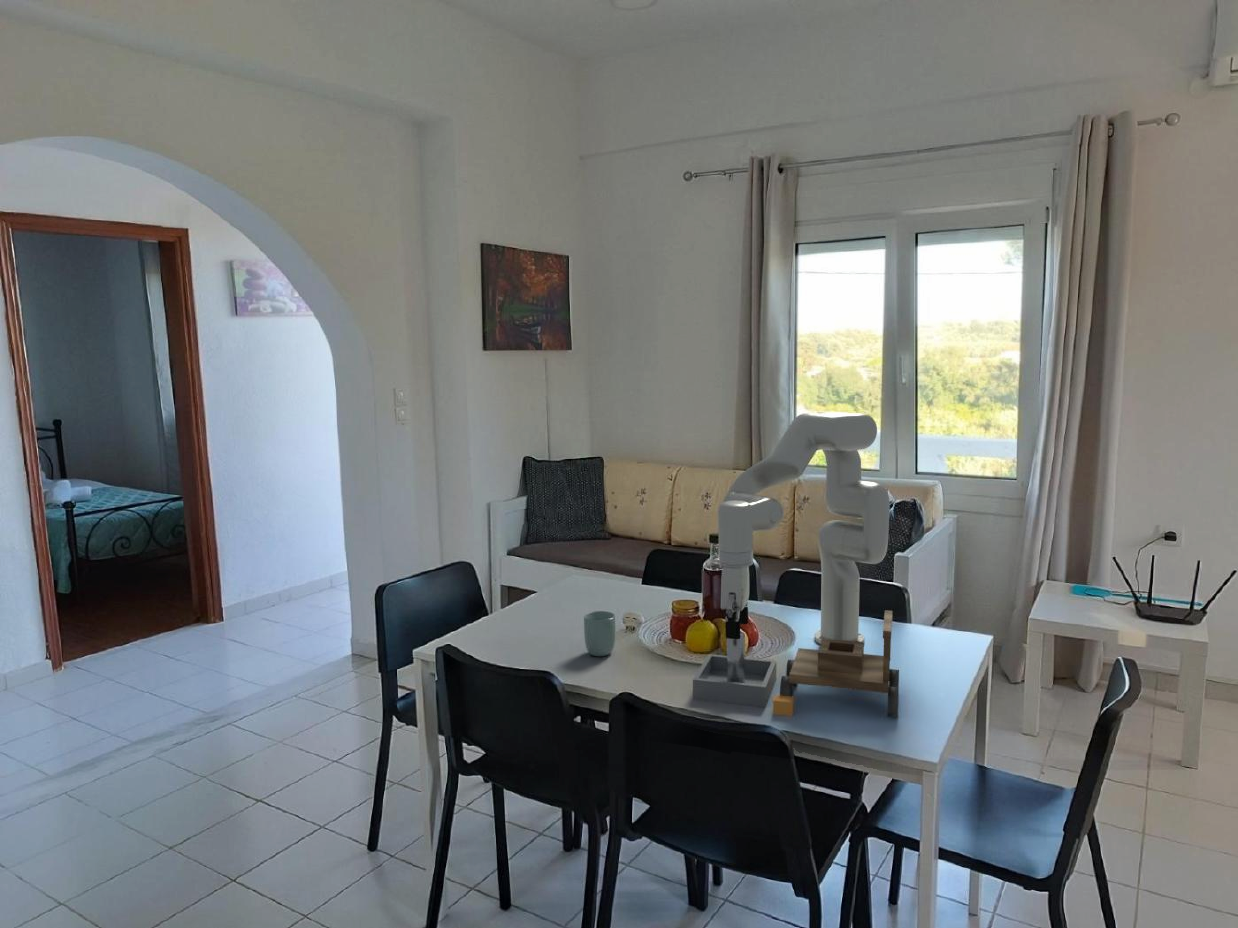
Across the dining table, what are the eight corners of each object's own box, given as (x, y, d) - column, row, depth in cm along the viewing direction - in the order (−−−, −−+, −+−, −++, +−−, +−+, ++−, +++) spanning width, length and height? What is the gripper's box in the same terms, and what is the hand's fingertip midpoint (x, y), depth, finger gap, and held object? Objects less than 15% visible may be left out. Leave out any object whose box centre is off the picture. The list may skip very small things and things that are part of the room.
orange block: (775, 708, 188) (775, 694, 187) (794, 710, 187) (794, 696, 186) (773, 713, 185) (773, 700, 185) (792, 716, 184) (792, 702, 183)
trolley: (789, 680, 203) (790, 601, 200) (898, 691, 195) (900, 610, 192) (779, 708, 188) (780, 623, 185) (897, 721, 180) (899, 633, 177)
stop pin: (728, 680, 201) (728, 629, 199) (746, 682, 200) (746, 631, 198) (725, 687, 197) (725, 635, 195) (743, 689, 196) (742, 637, 194)
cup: (595, 646, 228) (594, 609, 226) (621, 651, 224) (620, 613, 222) (579, 655, 221) (578, 617, 219) (605, 661, 217) (604, 622, 215)
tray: (708, 672, 208) (708, 654, 208) (776, 679, 204) (776, 660, 203) (692, 698, 193) (692, 679, 193) (765, 707, 188) (765, 687, 188)
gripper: (726, 546, 203) (728, 616, 206) (710, 566, 187) (712, 643, 190) (759, 547, 201) (760, 619, 204) (746, 568, 185) (747, 645, 188)
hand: (737, 630), depth 197 cm, fingers open, 9 cm apart
